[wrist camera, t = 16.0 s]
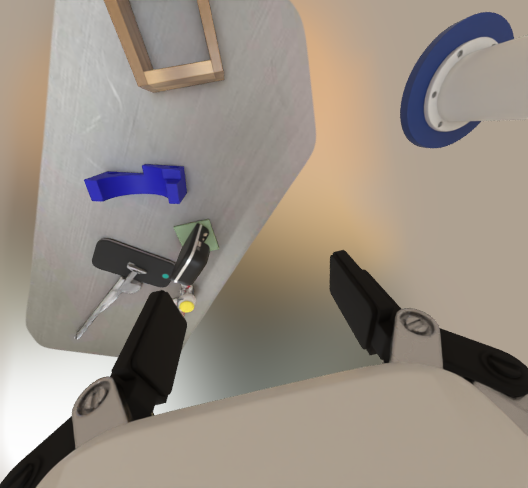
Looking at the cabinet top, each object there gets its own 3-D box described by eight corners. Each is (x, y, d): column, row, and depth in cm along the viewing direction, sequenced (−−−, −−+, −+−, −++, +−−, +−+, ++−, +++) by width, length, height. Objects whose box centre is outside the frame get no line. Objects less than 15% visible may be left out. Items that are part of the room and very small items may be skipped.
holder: (200, -37, 22) (193, -75, 18) (224, 79, 28) (223, 71, 23) (109, -22, 22) (80, -58, 18) (152, 92, 27) (138, 86, 23)
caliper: (153, 266, 43) (128, 260, 39) (153, 275, 41) (127, 270, 38) (97, 332, 52) (72, 332, 48) (96, 341, 51) (70, 342, 47)
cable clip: (183, 166, 33) (175, 173, 28) (186, 192, 35) (179, 203, 30) (104, 161, 31) (79, 168, 26) (113, 189, 33) (92, 201, 28)
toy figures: (183, 278, 45) (174, 306, 38) (201, 283, 46) (196, 312, 39) (167, 311, 49) (156, 341, 42) (184, 315, 51) (176, 345, 44)
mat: (209, 218, 38) (208, 220, 38) (219, 247, 42) (218, 249, 41) (174, 226, 38) (173, 227, 37) (187, 254, 42) (186, 256, 41)
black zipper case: (199, 254, 41) (189, 293, 32) (181, 246, 40) (166, 284, 30) (215, 230, 39) (210, 263, 29) (197, 220, 37) (186, 253, 28)
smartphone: (166, 289, 44) (89, 266, 39) (167, 287, 45) (92, 263, 39) (178, 266, 42) (98, 237, 36) (179, 263, 42) (100, 235, 36)
